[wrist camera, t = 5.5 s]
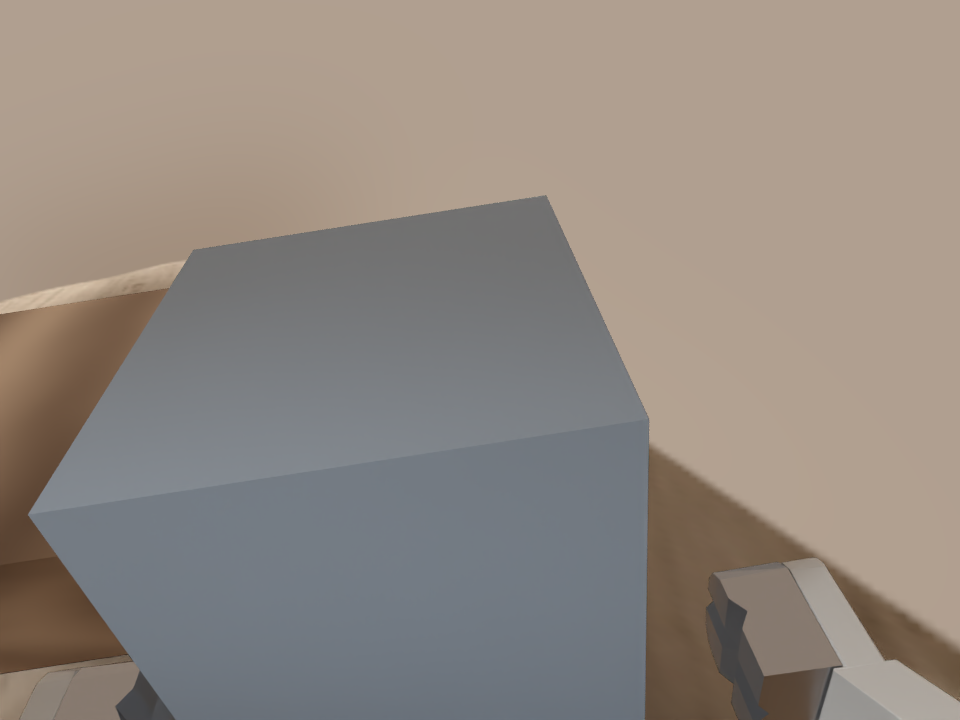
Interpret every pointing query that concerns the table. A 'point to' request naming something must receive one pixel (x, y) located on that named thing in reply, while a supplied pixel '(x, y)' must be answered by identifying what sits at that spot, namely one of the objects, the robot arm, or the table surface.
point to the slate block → (371, 481)
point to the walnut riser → (52, 466)
